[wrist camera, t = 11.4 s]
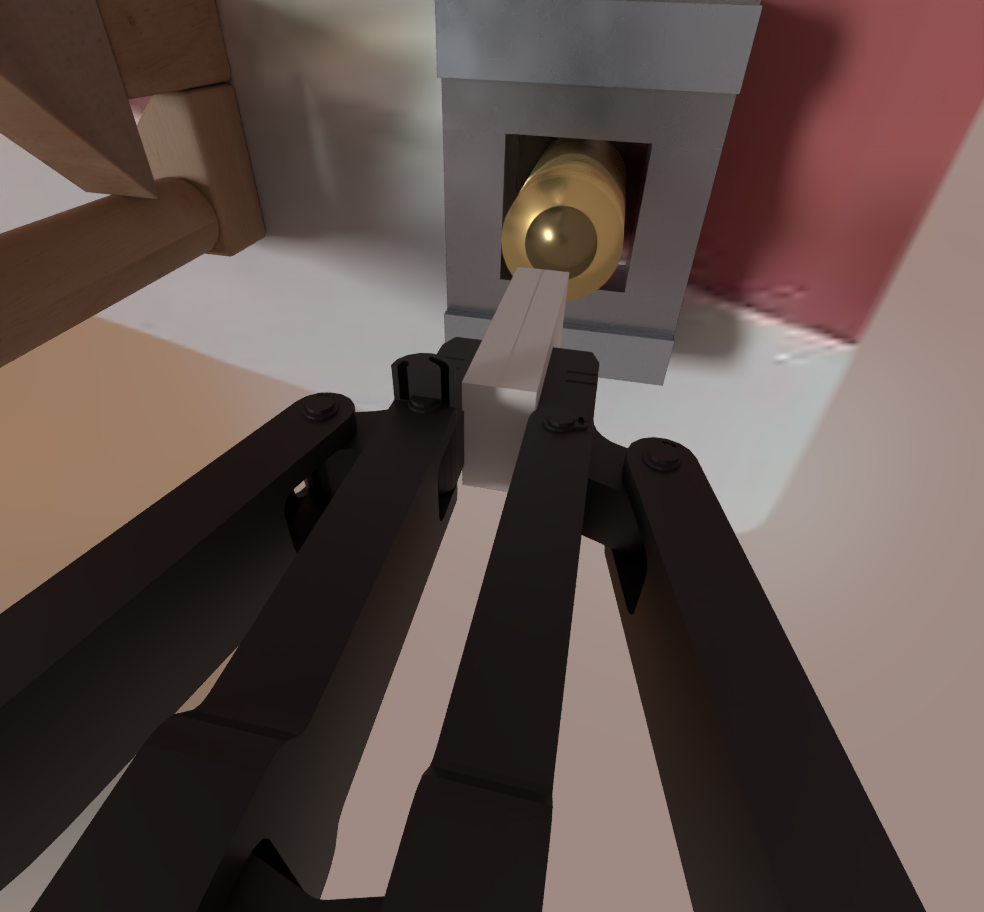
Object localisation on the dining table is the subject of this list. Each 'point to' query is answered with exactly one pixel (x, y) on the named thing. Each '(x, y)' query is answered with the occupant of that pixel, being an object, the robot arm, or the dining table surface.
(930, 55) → the dining table surface
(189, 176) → the brown wooden stand
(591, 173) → the bushing
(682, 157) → the jig
